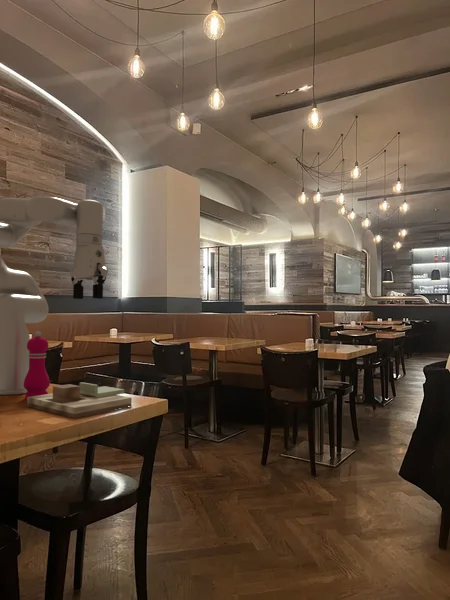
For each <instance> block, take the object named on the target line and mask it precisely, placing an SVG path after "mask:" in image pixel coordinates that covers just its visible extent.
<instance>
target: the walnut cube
mask: <svg viewBox="0 0 450 600" xmlns="http://www.w3.org/2000/svg"><path fill="white" fill-rule="evenodd" d="M52 394H53V402H57V403H68V402H74V401H80V386H79V385H76V384H70V383H69V384H68V383H67V384H62V385H61V384H60V385H54V386H52Z"/></svg>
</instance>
